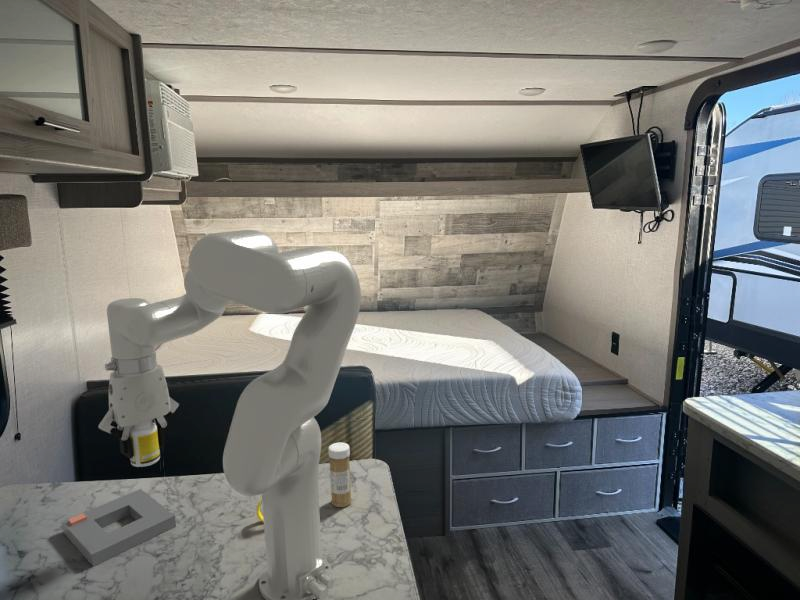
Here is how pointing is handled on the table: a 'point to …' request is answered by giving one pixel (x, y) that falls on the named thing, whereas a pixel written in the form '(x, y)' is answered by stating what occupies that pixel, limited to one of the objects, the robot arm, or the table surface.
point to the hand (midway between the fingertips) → (144, 449)
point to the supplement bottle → (144, 444)
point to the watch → (259, 511)
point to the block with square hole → (107, 545)
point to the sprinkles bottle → (340, 474)
